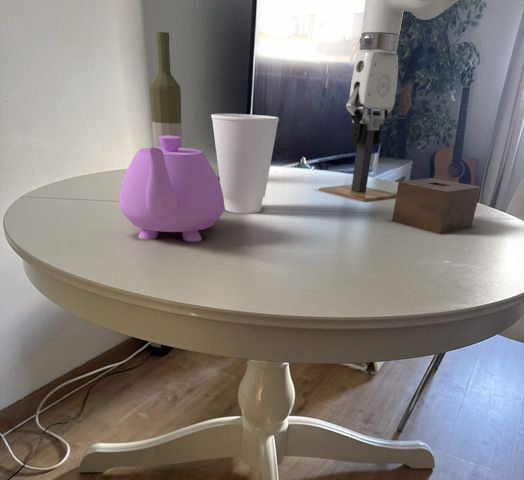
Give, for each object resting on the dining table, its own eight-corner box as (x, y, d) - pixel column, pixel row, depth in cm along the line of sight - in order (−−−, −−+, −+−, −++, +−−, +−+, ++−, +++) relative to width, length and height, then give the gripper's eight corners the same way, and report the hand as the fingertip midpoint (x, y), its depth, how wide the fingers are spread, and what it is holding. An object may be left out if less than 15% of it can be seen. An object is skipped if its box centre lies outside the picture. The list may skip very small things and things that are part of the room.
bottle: (167, 181, 113) (159, 30, 99) (148, 177, 117) (139, 31, 103) (189, 178, 118) (185, 33, 104) (171, 174, 122) (165, 34, 108)
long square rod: (355, 188, 113) (365, 114, 105) (371, 192, 109) (383, 116, 102) (347, 189, 111) (356, 114, 104) (363, 193, 108) (374, 115, 100)
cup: (252, 200, 98) (255, 114, 91) (286, 213, 90) (292, 118, 82) (200, 205, 92) (199, 113, 85) (231, 218, 84) (233, 117, 76)
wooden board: (353, 186, 119) (353, 184, 119) (399, 197, 110) (399, 194, 109) (318, 190, 112) (319, 187, 112) (364, 201, 103) (364, 198, 102)
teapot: (215, 258, 64) (215, 147, 58) (99, 252, 64) (86, 140, 57) (229, 219, 83) (230, 133, 77) (140, 214, 83) (133, 128, 77)
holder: (424, 215, 94) (431, 177, 90) (471, 227, 87) (481, 186, 83) (391, 221, 88) (398, 181, 85) (439, 234, 81) (449, 191, 78)
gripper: (365, 41, 90) (352, 146, 98) (418, 49, 99) (402, 144, 108) (336, 42, 95) (326, 142, 104) (390, 50, 104) (376, 141, 113)
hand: (365, 142), depth 106 cm, fingers open, 4 cm apart
